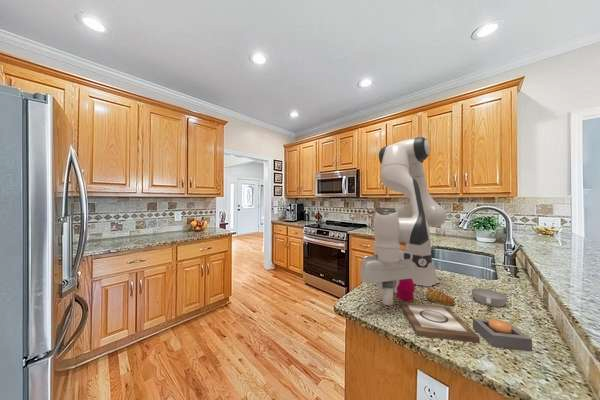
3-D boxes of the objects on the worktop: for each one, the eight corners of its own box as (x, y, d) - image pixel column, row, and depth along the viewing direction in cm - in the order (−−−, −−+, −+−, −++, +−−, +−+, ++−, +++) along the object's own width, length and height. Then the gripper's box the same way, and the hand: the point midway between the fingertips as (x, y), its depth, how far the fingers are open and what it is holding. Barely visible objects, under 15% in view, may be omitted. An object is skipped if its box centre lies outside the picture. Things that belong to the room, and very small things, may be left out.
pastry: (457, 303, 84) (457, 293, 84) (451, 308, 80) (450, 298, 80) (430, 295, 92) (430, 286, 92) (424, 300, 88) (424, 290, 88)
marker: (381, 300, 80) (381, 278, 80) (392, 301, 79) (392, 279, 79) (382, 304, 76) (382, 282, 76) (394, 306, 75) (393, 283, 75)
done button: (484, 325, 65) (484, 317, 65) (503, 327, 64) (503, 319, 64) (496, 335, 60) (495, 326, 60) (516, 337, 59) (516, 328, 59)
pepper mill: (391, 295, 91) (391, 248, 92) (404, 293, 94) (404, 247, 94) (405, 302, 84) (405, 251, 85) (419, 300, 87) (418, 250, 87)
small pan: (506, 301, 86) (506, 292, 86) (509, 319, 73) (509, 307, 73) (472, 294, 93) (472, 285, 93) (469, 309, 80) (469, 298, 80)
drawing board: (400, 306, 81) (400, 301, 81) (447, 310, 78) (447, 305, 78) (416, 335, 63) (416, 329, 63) (479, 342, 60) (479, 335, 60)
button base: (472, 327, 67) (472, 318, 67) (506, 331, 65) (506, 321, 65) (492, 346, 58) (492, 335, 58) (532, 351, 56) (531, 339, 56)
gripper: (366, 258, 72) (367, 300, 72) (416, 254, 78) (417, 292, 77) (356, 254, 78) (357, 292, 78) (403, 250, 84) (404, 286, 83)
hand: (387, 292), depth 77 cm, fingers closed on marker, 4 cm apart
